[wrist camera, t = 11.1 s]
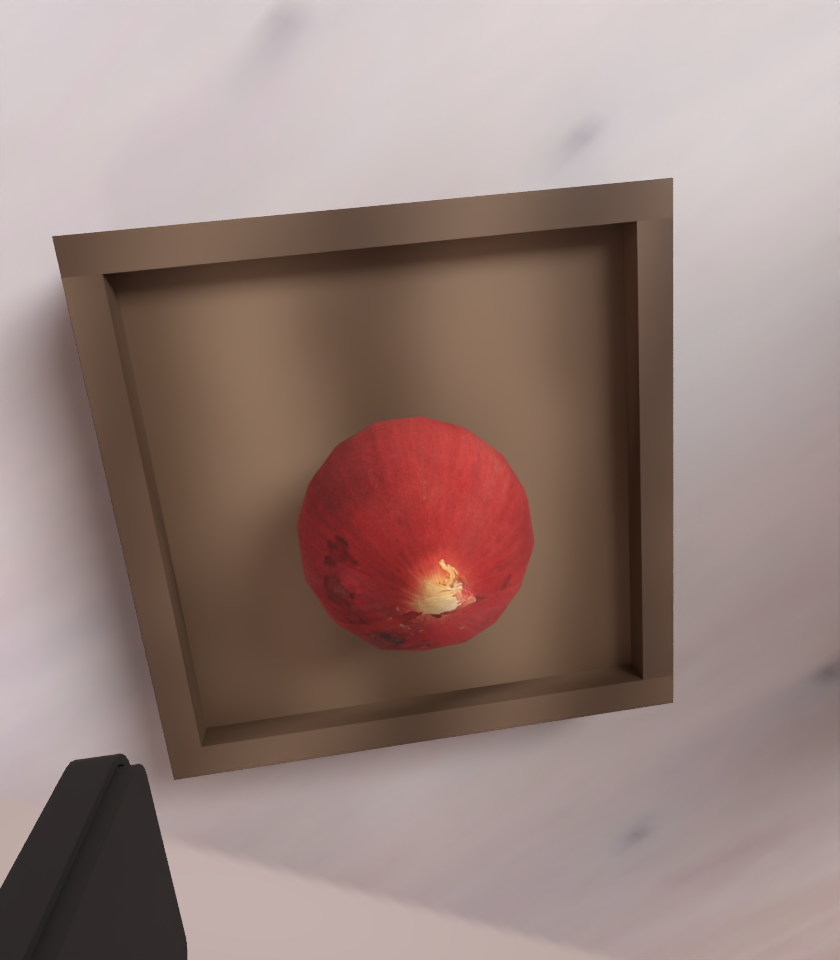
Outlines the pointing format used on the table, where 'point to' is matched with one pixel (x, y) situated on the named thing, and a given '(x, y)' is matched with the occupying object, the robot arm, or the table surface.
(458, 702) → the walnut tray
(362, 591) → the onion
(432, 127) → the table surface
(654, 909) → the table surface
